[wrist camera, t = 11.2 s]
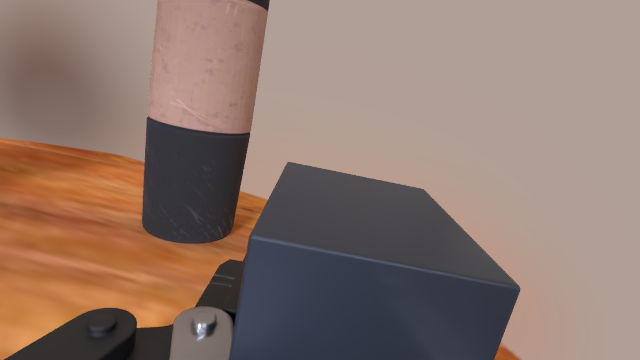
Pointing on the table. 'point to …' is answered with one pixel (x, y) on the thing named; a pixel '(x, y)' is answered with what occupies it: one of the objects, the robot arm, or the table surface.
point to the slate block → (365, 276)
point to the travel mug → (200, 115)
